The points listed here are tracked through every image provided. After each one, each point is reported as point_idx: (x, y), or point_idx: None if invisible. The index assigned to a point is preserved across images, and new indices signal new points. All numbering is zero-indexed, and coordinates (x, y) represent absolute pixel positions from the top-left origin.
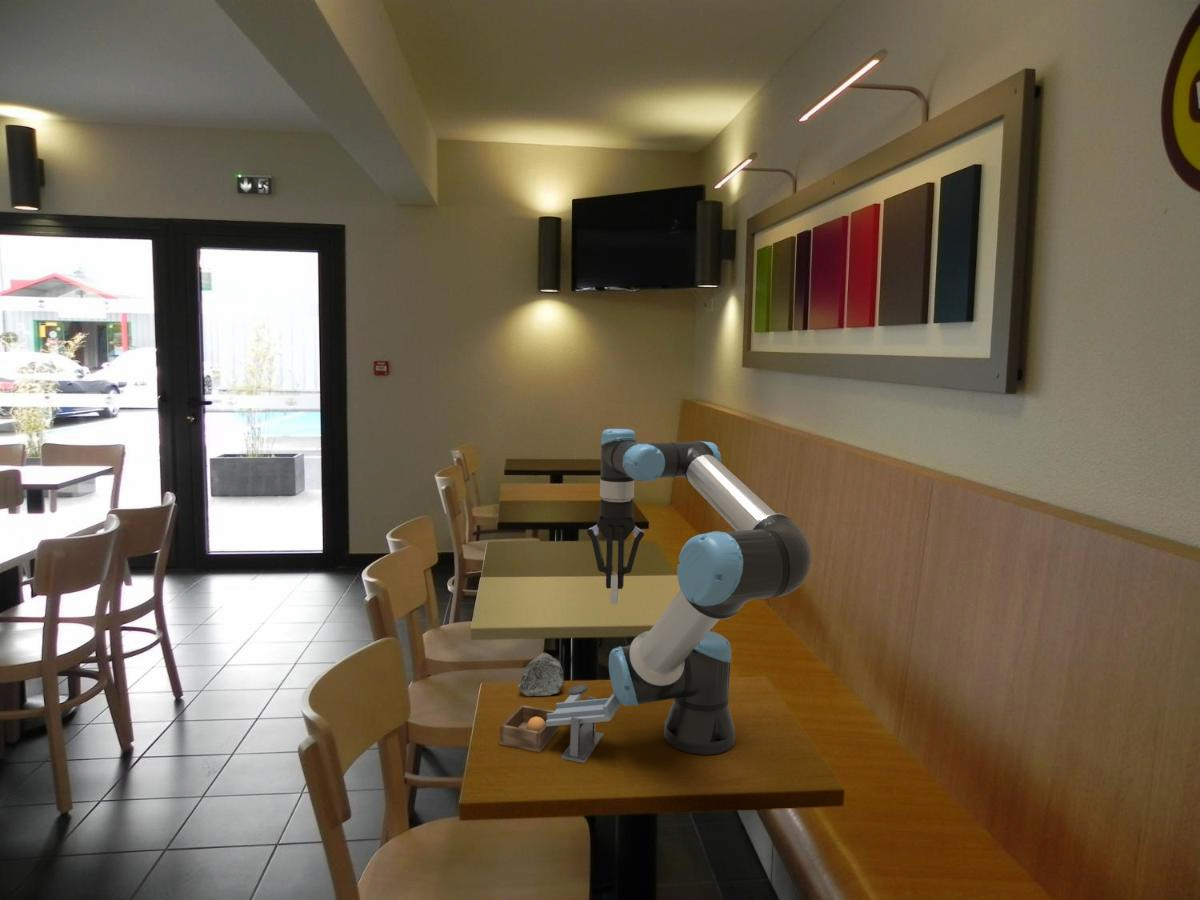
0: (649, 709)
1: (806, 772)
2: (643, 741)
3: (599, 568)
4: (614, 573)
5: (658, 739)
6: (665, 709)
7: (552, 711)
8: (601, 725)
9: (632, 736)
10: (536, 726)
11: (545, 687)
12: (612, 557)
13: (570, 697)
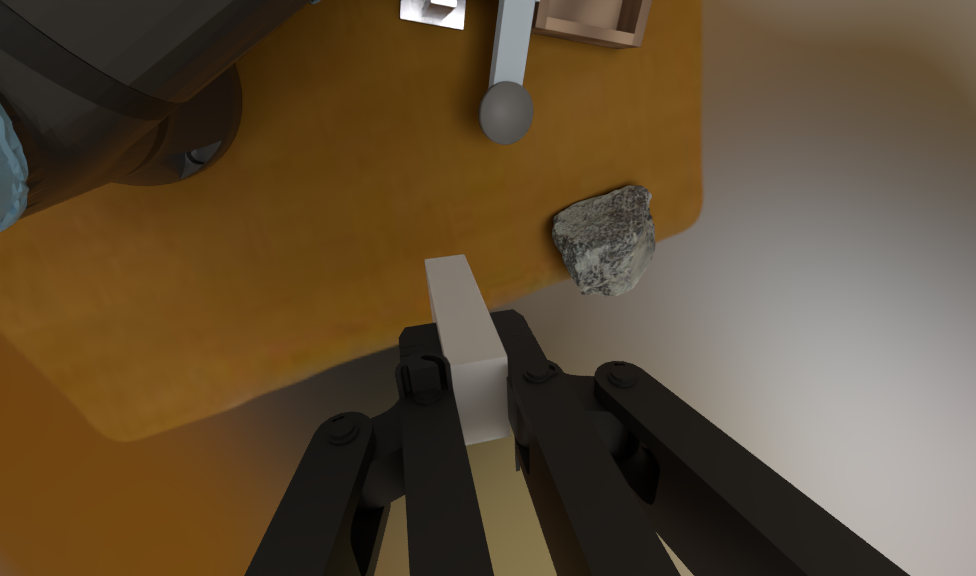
0: (323, 208)
1: None
2: None
3: (636, 378)
4: (488, 419)
5: None
6: (282, 220)
7: (553, 23)
8: (419, 83)
9: (321, 37)
10: None
11: (589, 208)
12: (556, 544)
13: (517, 64)
